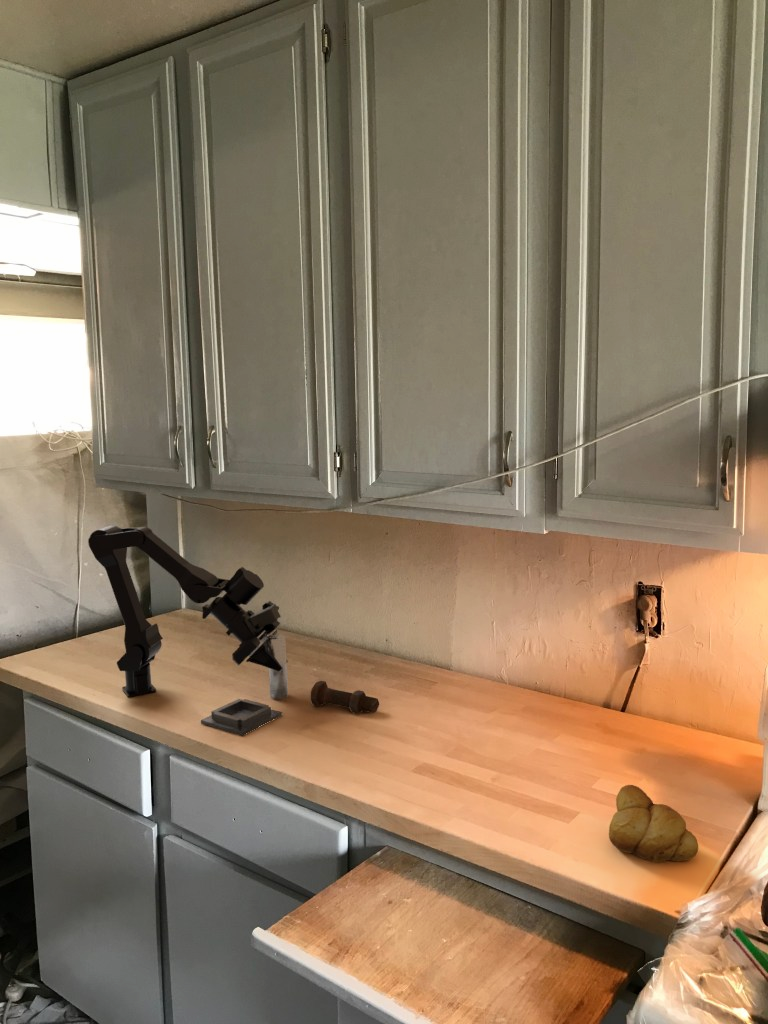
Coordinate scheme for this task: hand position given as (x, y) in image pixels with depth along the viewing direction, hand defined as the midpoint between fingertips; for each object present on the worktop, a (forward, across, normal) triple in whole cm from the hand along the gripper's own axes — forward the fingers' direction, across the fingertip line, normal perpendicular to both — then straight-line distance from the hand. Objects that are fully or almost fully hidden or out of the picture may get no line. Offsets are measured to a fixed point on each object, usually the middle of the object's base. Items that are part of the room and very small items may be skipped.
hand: (283, 666), depth 188 cm
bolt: (+16, -6, -6) cm, 18 cm away
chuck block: (+1, -14, +9) cm, 16 cm away
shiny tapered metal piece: (+4, 0, +6) cm, 7 cm away
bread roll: (+56, -55, -46) cm, 91 cm away
